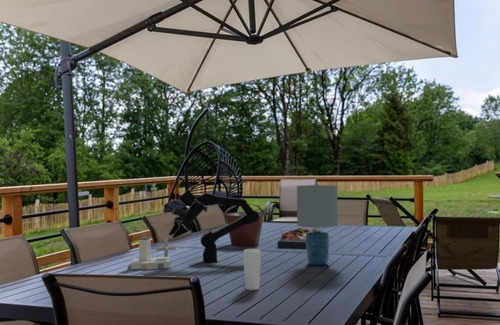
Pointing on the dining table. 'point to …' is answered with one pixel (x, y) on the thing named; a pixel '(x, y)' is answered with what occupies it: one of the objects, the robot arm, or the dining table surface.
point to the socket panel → (151, 263)
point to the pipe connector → (165, 248)
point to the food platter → (294, 239)
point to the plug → (144, 249)
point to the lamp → (317, 219)
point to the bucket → (245, 230)
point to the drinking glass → (252, 268)
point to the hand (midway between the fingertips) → (171, 236)
